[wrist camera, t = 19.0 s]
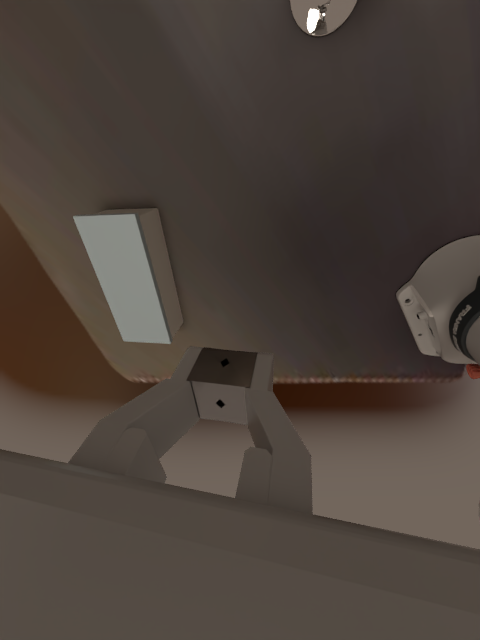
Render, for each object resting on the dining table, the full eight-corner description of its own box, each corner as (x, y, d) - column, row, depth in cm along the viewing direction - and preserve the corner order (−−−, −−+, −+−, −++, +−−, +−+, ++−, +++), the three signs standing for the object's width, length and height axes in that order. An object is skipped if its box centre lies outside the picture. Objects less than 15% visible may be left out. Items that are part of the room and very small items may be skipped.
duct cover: (137, 212, 39) (134, 214, 38) (172, 340, 53) (170, 343, 52) (77, 215, 41) (72, 216, 40) (126, 338, 54) (123, 341, 54)
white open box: (157, 208, 44) (139, 215, 39) (183, 321, 57) (172, 337, 53) (107, 209, 46) (84, 217, 41) (143, 319, 60) (129, 334, 55)
